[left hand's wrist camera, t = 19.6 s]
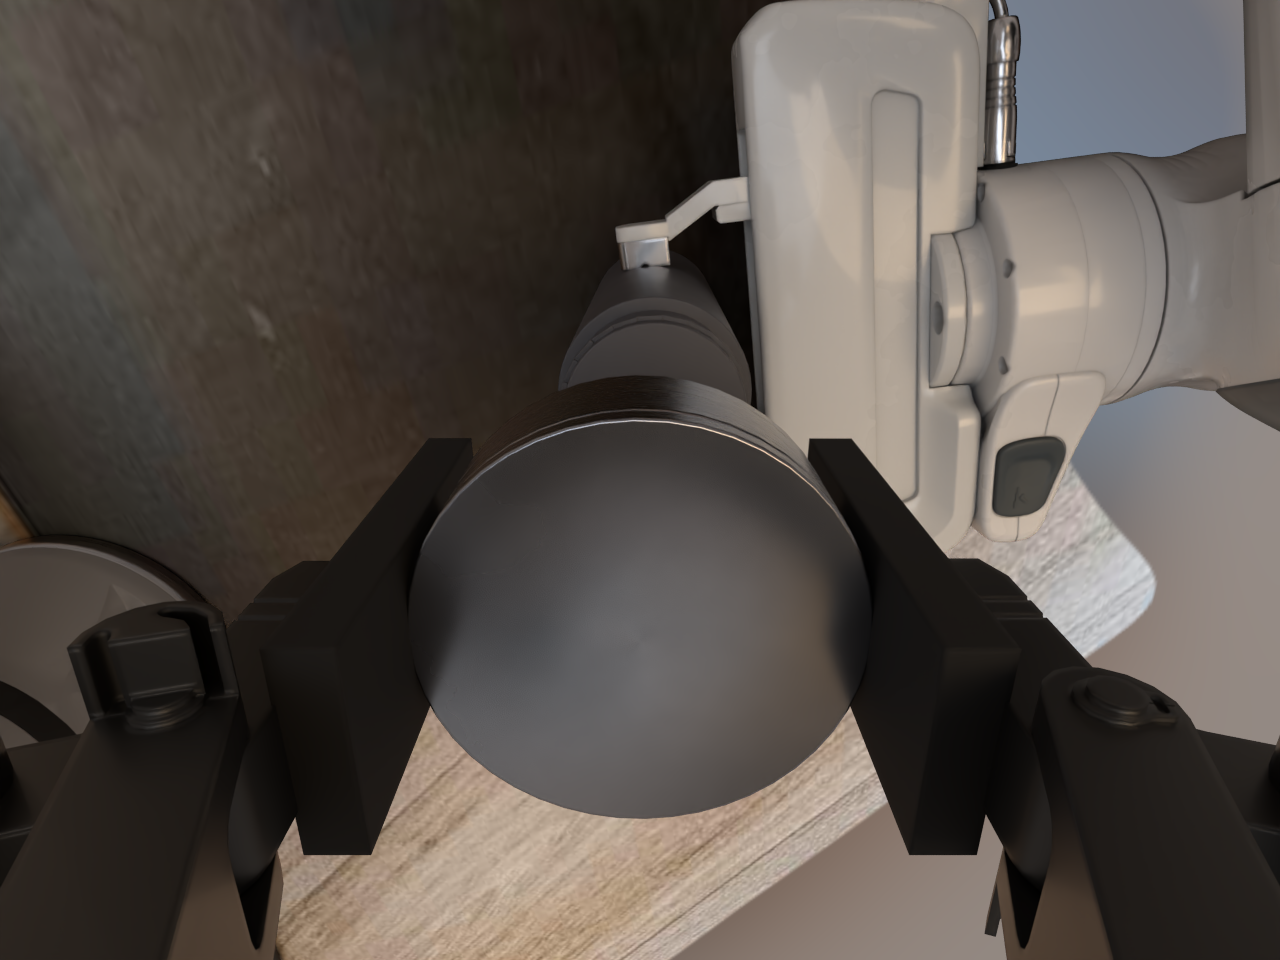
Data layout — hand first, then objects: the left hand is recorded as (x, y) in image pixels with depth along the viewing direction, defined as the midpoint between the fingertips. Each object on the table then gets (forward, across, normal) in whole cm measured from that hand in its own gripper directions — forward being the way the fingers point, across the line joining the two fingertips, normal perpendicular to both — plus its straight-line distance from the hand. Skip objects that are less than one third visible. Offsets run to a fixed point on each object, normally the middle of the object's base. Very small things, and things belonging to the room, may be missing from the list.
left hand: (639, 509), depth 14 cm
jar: (+22, +1, 0) cm, 22 cm away
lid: (-4, 0, 0) cm, 4 cm away
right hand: (+16, 0, 0) cm, 16 cm away
